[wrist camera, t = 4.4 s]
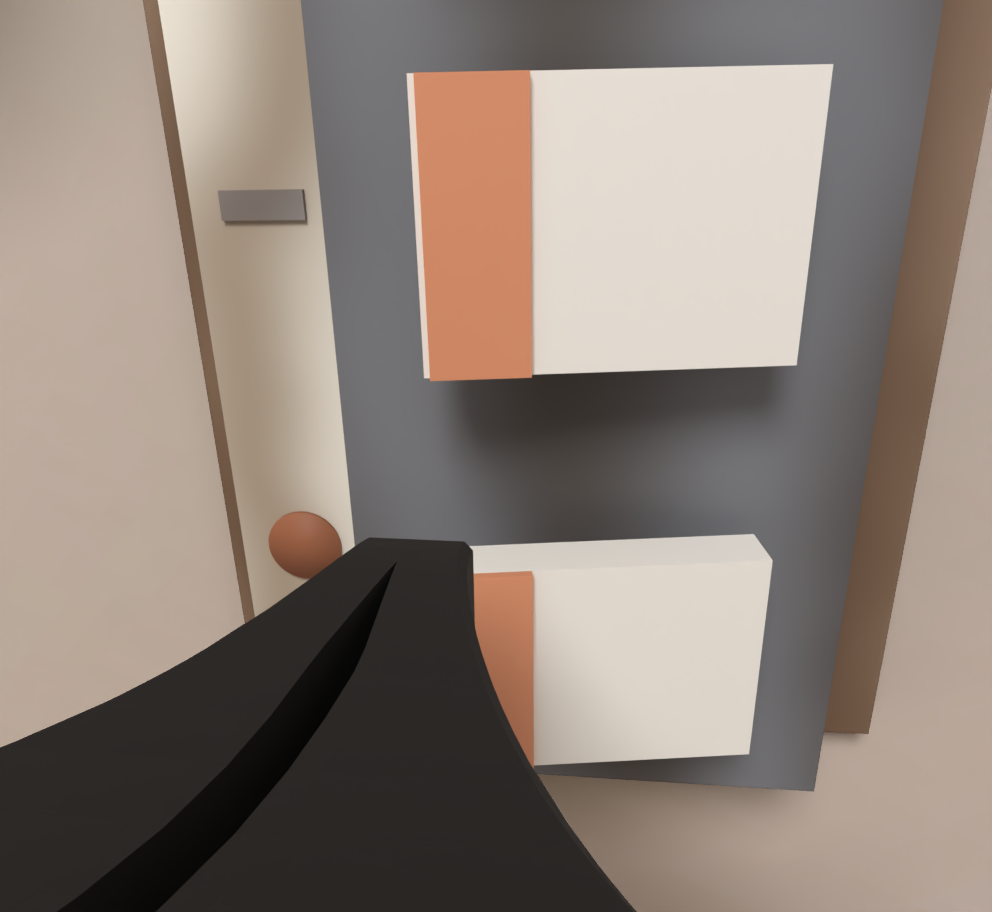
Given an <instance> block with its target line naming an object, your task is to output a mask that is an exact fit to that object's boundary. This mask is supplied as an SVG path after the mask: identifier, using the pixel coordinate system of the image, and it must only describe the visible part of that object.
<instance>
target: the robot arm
mask: <svg viewBox="0 0 992 912" xmlns="http://www.w3.org/2000/svg"><path fill="white" fill-rule="evenodd" d="M0 912H636V911H635V910H634V908H633V907H632V906H631V905H630V904H629V903H628V901H627V900H626V899H625V898H624V897H623V895H622V894H621V893H620V892H619V890H618V889H617V888H616V887H615V886H614V884H613V883H612V882H611V881H610V879H609V878H608V877H607V876H606V874H605V873H604V872H603V871H602V869H601V868H600V867H599V866H598V864H597V863H596V862H595V860H594V859H593V858H592V856H591V855H590V853H589V852H588V851H587V849H586V848H585V847H584V845H583V844H582V842H581V841H580V840H579V838H578V837H577V836H576V834H575V833H574V832H573V830H572V829H571V827H570V826H569V825H568V823H567V822H566V820H565V819H564V817H563V815H562V814H561V812H560V811H559V809H558V807H557V806H556V804H555V803H554V801H553V799H552V798H551V796H550V795H549V793H548V791H547V790H546V788H545V787H544V785H543V783H542V782H541V780H540V779H539V777H538V775H537V774H536V772H535V771H534V769H533V767H532V766H531V764H530V762H529V760H528V759H527V757H526V755H525V753H524V751H523V749H522V747H521V745H520V743H519V741H518V739H517V737H516V735H515V734H514V732H513V730H512V727H511V725H510V723H509V721H508V719H507V717H506V714H505V712H504V710H503V708H502V706H501V703H500V701H499V699H498V696H497V694H496V691H495V689H494V686H493V683H492V681H491V678H490V675H489V672H488V670H487V667H486V664H485V661H484V658H483V655H482V652H481V648H480V645H479V641H478V638H477V634H476V629H475V613H474V568H473V550H472V549H471V548H470V547H469V546H468V545H467V544H466V543H465V542H464V541H443V540H420V539H397V538H374V537H369V538H367V539H365V540H364V541H362V542H360V543H359V544H357V545H356V546H355V547H353V548H352V549H350V550H349V551H348V552H346V553H345V554H343V555H342V556H341V557H339V558H338V559H337V560H335V561H334V562H332V563H331V564H330V565H328V566H327V567H326V568H324V569H323V570H322V571H320V572H319V573H318V574H316V575H315V576H313V577H312V578H311V579H309V580H308V581H306V582H305V583H304V584H302V585H301V586H299V587H298V588H297V589H295V590H294V591H292V592H291V593H290V594H288V595H287V596H285V597H284V598H283V599H281V600H280V601H278V602H277V603H276V604H274V605H273V606H271V607H270V608H268V609H267V610H265V611H264V612H262V613H261V614H259V615H258V616H256V617H255V618H253V619H251V620H250V621H248V622H247V623H245V624H244V625H242V626H240V627H239V628H237V629H236V630H234V631H233V632H231V633H230V634H228V635H226V636H225V637H223V638H222V639H220V640H219V641H217V642H216V643H214V644H212V645H211V646H209V647H208V648H206V649H205V650H203V651H201V652H199V653H198V654H196V655H194V656H193V657H191V658H189V659H188V660H186V661H184V662H182V663H180V664H179V665H177V666H175V667H173V668H171V669H170V670H168V671H166V672H164V673H162V674H160V675H158V676H156V677H155V678H153V679H151V680H149V681H147V682H145V683H143V684H141V685H139V686H137V687H135V688H133V689H131V690H129V691H127V692H126V693H124V694H122V695H120V696H117V697H115V698H113V699H111V700H109V701H107V702H105V703H103V704H101V705H98V706H96V707H94V708H91V709H89V710H87V711H85V712H82V713H80V714H78V715H75V716H73V717H71V718H68V719H66V720H64V721H62V722H59V723H57V724H55V725H52V726H50V727H48V728H46V729H43V730H41V731H39V732H36V733H34V734H32V735H29V736H27V737H25V738H23V739H20V740H18V741H16V742H13V743H11V744H8V745H6V746H3V747H1V748H0Z"/></svg>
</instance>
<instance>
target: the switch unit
mask: <svg viewBox="0 0 992 912" xmlns="http://www.w3.org/2000/svg"><path fill="white" fill-rule="evenodd" d="M143 4H144V10H145V16H146V22H147V29H148V35H149V41H150V47H151V53H152V59H153V65H154V71H155V77H156V83H157V90H158V96H159V102H160V108H161V114H162V120H163V126H164V132H165V138H166V145H167V151H168V157H169V163H170V169H171V175H172V181H173V187H174V193H175V199H176V206H177V212H178V218H179V224H180V230H181V236H182V242H183V248H184V254H185V261H186V267H187V273H188V279H189V285H190V291H191V297H192V303H193V309H194V315H195V322H196V328H197V334H198V340H199V346H200V352H201V358H202V364H203V370H204V377H205V383H206V389H207V395H208V401H209V407H210V413H211V419H212V425H213V431H214V438H215V444H216V450H217V456H218V462H219V468H220V474H221V480H222V486H223V493H224V499H225V505H226V511H227V517H228V523H229V529H230V535H231V541H232V548H233V554H234V560H235V566H236V572H237V578H238V584H239V590H240V596H241V602H242V609H243V615H244V621H245V623H247V622H248V621H250V620H251V619H253V618H255V617H256V616H258V615H259V614H261V613H262V612H264V611H265V610H267V609H268V608H270V607H271V606H273V605H274V604H276V603H277V602H278V601H280V600H281V599H283V598H284V597H285V596H287V595H288V594H290V593H291V592H292V591H294V590H295V589H297V588H298V587H299V586H301V585H302V584H304V583H305V582H306V581H308V580H309V579H311V578H312V577H313V576H315V575H316V574H318V573H319V572H320V571H322V570H323V569H324V568H326V567H327V566H328V565H330V564H331V563H332V562H334V561H335V560H337V559H338V558H339V557H341V556H342V555H343V554H345V553H346V552H348V551H349V550H350V549H352V548H353V547H355V546H356V545H357V544H359V543H360V542H362V541H364V540H365V539H367V538H369V537H374V538H397V539H420V540H443V541H464V542H465V543H466V544H467V545H468V546H485V545H508V544H532V543H555V542H579V541H602V540H626V539H649V538H672V537H696V536H719V535H743V534H754V535H755V536H756V538H757V539H758V541H759V542H760V543H761V545H762V546H763V548H764V549H765V550H766V552H767V553H768V555H769V556H770V557H771V559H772V560H773V562H772V570H771V579H770V587H769V595H768V603H767V611H766V620H765V628H764V636H763V644H762V652H761V660H760V669H759V677H758V685H757V693H756V701H755V710H754V718H753V726H752V734H751V742H750V750H749V754H743V755H724V756H705V757H686V758H667V759H648V760H629V761H610V762H591V763H572V764H553V765H534V771H535V772H536V774H547V775H563V776H578V777H594V778H610V779H626V780H641V781H657V782H673V783H689V784H704V785H720V786H736V787H752V788H767V789H783V790H799V791H814V787H815V781H816V775H817V769H818V763H819V757H820V751H821V745H822V739H823V733H824V731H826V732H844V733H862V734H868V733H869V728H870V722H871V717H872V712H873V707H874V701H875V696H876V691H877V686H878V681H879V675H880V670H881V665H882V660H883V654H884V649H885V644H886V639H887V633H888V628H889V623H890V618H891V612H892V607H893V602H894V597H895V591H896V586H897V581H898V576H899V570H900V565H901V560H902V555H903V549H904V544H905V539H906V534H907V528H908V523H909V518H910V513H911V507H912V502H913V497H914V492H915V486H916V481H917V476H918V471H919V465H920V460H921V455H922V450H923V444H924V439H925V434H926V429H927V424H928V418H929V413H930V408H931V403H932V397H933V392H934V387H935V382H936V376H937V371H938V366H939V361H940V355H941V350H942V345H943V340H944V334H945V329H946V324H947V319H948V313H949V308H950V303H951V298H952V292H953V287H954V282H955V277H956V271H957V266H958V261H959V256H960V250H961V245H962V240H963V235H964V229H965V224H966V219H967V214H968V208H969V203H970V198H971V193H972V188H973V182H974V177H975V172H976V167H977V161H978V156H979V151H980V146H981V140H982V135H983V130H984V125H985V119H986V114H987V109H988V104H989V98H990V93H991V88H992V0H143ZM810 64H833V72H832V80H831V88H830V96H829V104H828V112H827V121H826V129H825V137H824V145H823V153H822V162H821V170H820V178H819V186H818V194H817V202H816V211H815V219H814V227H813V235H812V243H811V252H810V260H809V268H808V276H807V284H806V292H805V301H804V309H803V317H802V325H801V333H800V341H799V350H798V358H797V365H792V366H764V367H735V368H707V369H678V370H650V371H622V372H593V373H565V374H536V375H532V378H508V379H480V380H451V381H430V378H424V368H423V351H422V334H421V316H420V299H419V281H418V264H417V247H416V229H415V212H414V195H413V177H412V160H411V142H410V125H409V108H408V90H407V73H418V72H464V71H510V70H530V71H534V70H580V69H626V68H672V67H718V66H764V65H810Z"/></svg>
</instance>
